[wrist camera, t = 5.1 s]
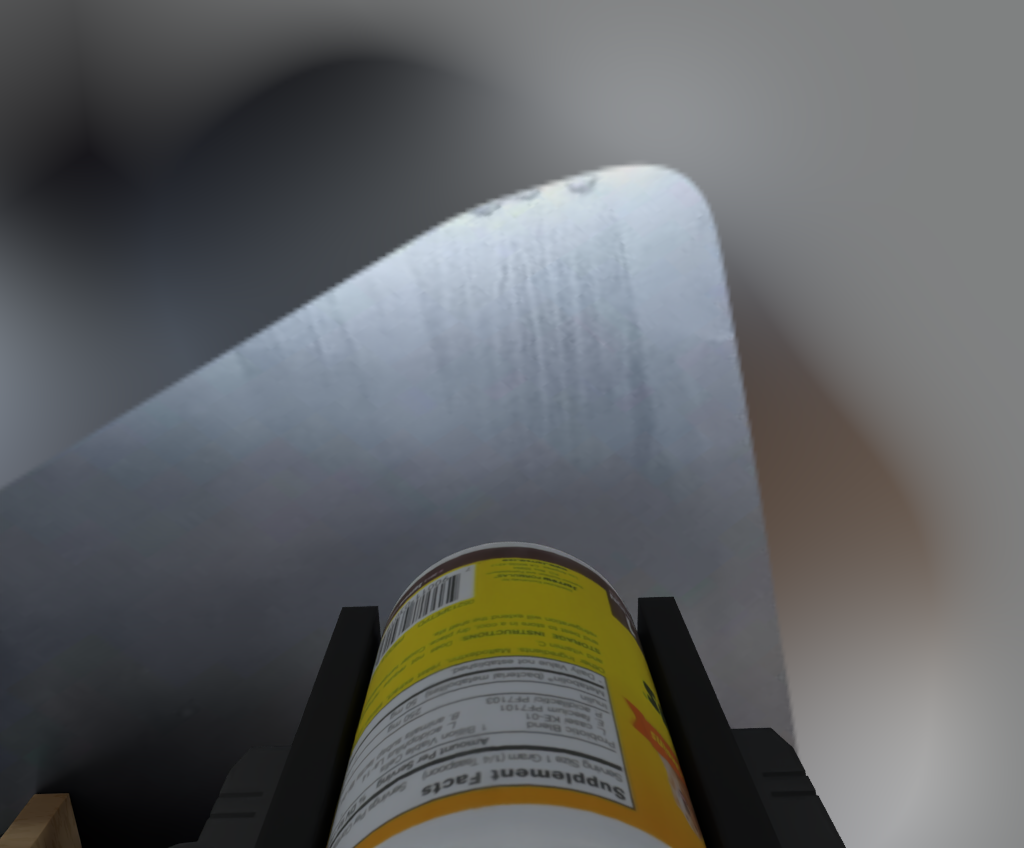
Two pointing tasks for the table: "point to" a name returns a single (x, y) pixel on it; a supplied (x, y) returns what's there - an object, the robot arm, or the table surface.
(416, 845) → the supplement bottle
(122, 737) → the table surface
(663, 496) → the table surface
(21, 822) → the shelf
